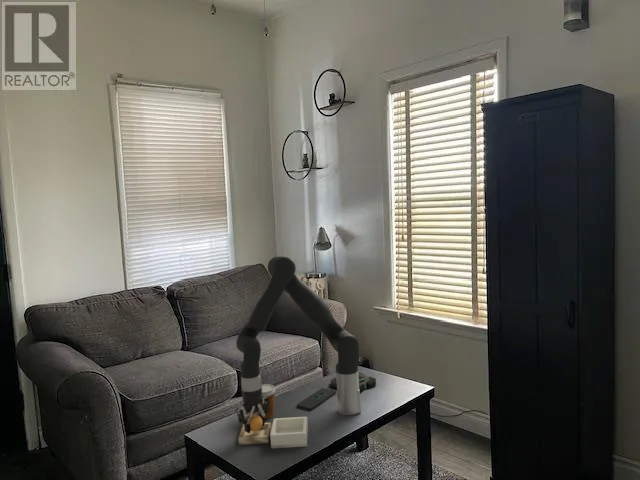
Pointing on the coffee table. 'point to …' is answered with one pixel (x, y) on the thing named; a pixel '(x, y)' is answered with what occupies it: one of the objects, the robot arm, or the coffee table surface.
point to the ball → (255, 423)
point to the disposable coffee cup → (269, 393)
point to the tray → (255, 435)
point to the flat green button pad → (363, 381)
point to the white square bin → (289, 432)
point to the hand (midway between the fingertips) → (255, 428)
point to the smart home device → (316, 399)
